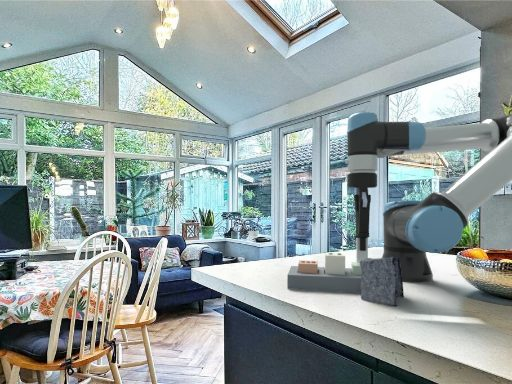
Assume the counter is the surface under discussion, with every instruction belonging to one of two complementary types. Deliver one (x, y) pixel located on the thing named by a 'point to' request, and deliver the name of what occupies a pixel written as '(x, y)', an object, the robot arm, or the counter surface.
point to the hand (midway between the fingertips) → (362, 262)
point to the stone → (381, 280)
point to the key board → (324, 281)
